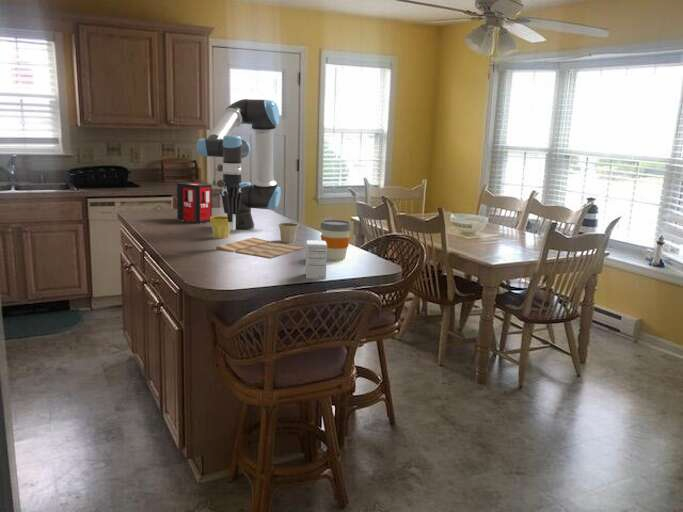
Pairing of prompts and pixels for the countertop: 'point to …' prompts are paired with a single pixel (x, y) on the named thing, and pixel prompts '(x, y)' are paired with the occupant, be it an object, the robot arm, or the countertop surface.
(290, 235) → the flower pot
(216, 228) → the plant pot
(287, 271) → the countertop surface
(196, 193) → the cleaning product box
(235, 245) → the board
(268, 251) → the laid floor
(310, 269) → the supplement box
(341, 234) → the reusable coffee cup
